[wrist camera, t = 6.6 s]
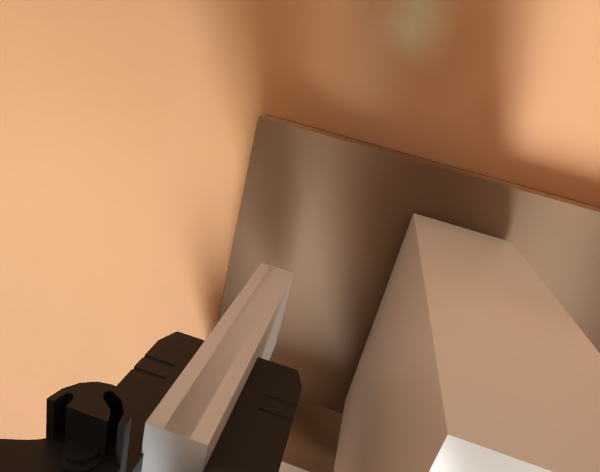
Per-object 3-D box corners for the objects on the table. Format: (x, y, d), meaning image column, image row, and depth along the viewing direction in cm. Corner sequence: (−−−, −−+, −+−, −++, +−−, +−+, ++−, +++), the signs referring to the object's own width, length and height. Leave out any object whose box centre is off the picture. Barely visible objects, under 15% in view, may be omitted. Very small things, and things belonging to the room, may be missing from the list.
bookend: (345, 400, 16) (286, 753, 7) (413, 212, 13) (447, 435, 4) (423, 428, 15) (458, 834, 7) (511, 242, 12) (748, 540, 4)
